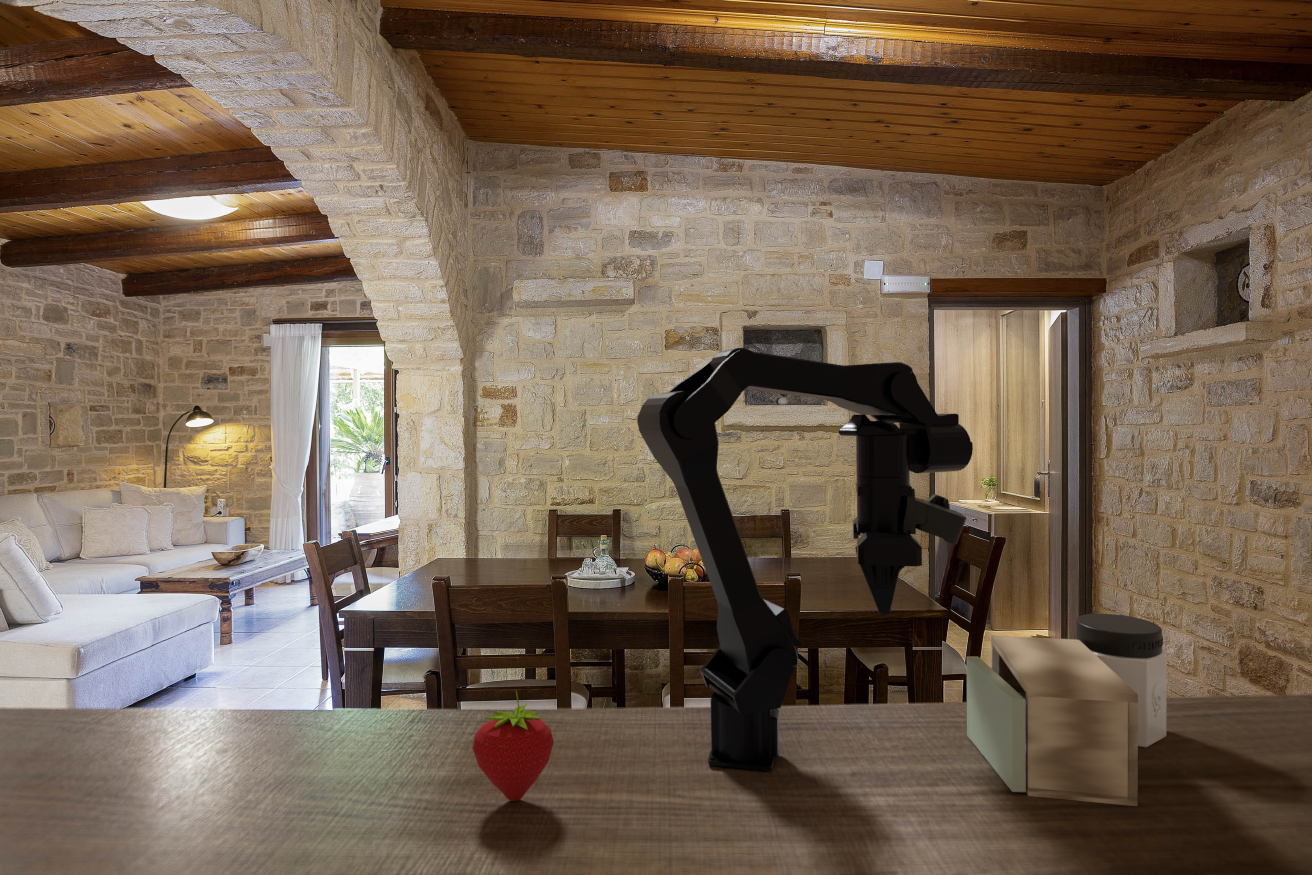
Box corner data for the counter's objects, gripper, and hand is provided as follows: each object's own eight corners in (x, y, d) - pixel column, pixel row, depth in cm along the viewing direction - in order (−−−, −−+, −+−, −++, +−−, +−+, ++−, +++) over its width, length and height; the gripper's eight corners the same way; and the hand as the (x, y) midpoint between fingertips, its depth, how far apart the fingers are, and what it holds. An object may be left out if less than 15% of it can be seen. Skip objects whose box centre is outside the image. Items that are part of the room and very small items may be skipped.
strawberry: (482, 784, 72) (479, 683, 72) (558, 782, 72) (556, 682, 72) (466, 817, 66) (463, 707, 66) (550, 815, 66) (547, 706, 66)
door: (1012, 791, 68) (1012, 699, 68) (967, 735, 80) (966, 656, 80) (1025, 791, 68) (1025, 699, 68) (978, 735, 80) (977, 656, 80)
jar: (1139, 754, 76) (1139, 639, 75) (1059, 727, 82) (1059, 621, 82) (1177, 732, 80) (1178, 624, 80) (1099, 708, 87) (1099, 608, 87)
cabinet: (1028, 795, 68) (1028, 687, 68) (991, 723, 84) (991, 635, 83) (1137, 806, 66) (1137, 694, 66) (1078, 730, 81) (1078, 639, 81)
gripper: (975, 483, 71) (976, 642, 72) (946, 468, 90) (947, 595, 90) (857, 483, 74) (859, 636, 75) (852, 469, 92) (853, 592, 93)
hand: (884, 613), depth 83 cm, fingers closed
